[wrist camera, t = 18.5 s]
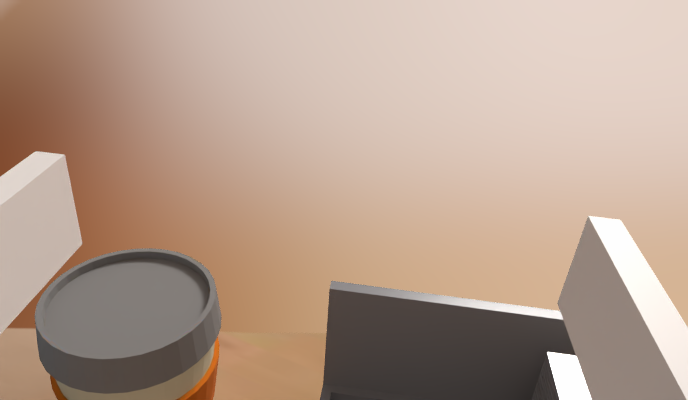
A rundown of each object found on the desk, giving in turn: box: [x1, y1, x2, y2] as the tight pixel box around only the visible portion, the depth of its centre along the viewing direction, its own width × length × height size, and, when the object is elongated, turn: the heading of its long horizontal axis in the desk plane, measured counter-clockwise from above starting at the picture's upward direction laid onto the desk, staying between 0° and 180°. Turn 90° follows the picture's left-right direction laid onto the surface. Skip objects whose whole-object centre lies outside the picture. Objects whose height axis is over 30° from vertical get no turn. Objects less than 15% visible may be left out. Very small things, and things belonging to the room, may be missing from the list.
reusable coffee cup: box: [35, 249, 221, 400], centre depth 43 cm, size 12×13×15 cm
